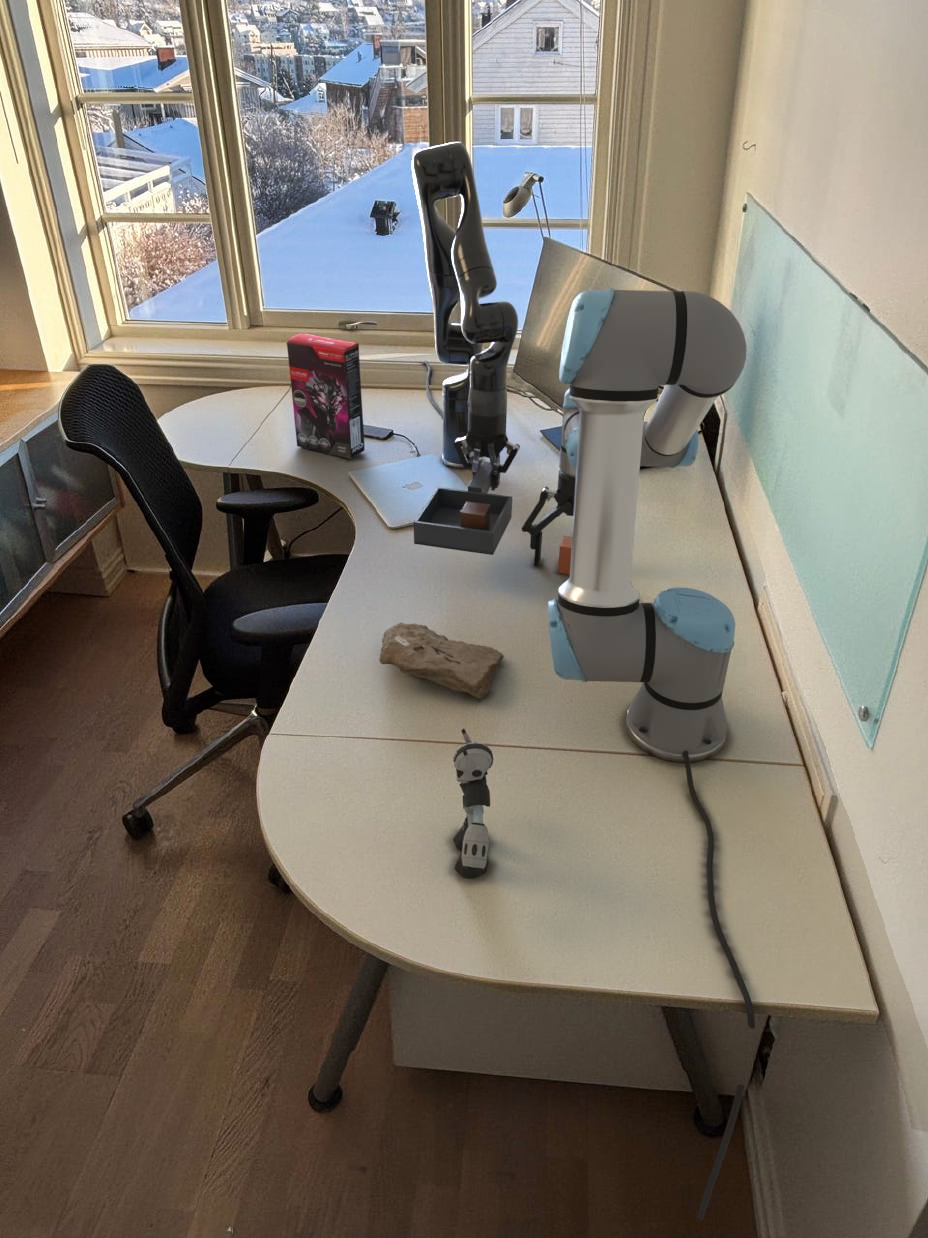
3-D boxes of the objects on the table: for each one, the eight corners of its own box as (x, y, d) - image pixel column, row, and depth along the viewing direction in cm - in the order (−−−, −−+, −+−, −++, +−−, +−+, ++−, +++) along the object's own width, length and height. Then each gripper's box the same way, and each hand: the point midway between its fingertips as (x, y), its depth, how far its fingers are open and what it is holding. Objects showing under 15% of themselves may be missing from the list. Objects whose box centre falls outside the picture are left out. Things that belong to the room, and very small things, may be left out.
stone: (355, 671, 149) (362, 639, 147) (387, 639, 163) (394, 609, 160) (477, 715, 146) (486, 682, 144) (499, 678, 159) (507, 648, 157)
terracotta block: (580, 575, 181) (582, 549, 178) (557, 572, 182) (559, 546, 179) (583, 564, 185) (586, 538, 182) (561, 561, 186) (563, 535, 183)
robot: (495, 914, 114) (500, 797, 103) (456, 915, 114) (456, 798, 103) (484, 799, 130) (487, 688, 119) (450, 801, 130) (450, 689, 119)
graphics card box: (294, 447, 232) (283, 339, 217) (310, 437, 237) (301, 331, 222) (351, 461, 225) (344, 350, 210) (367, 450, 230) (361, 342, 215)
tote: (493, 555, 169) (493, 528, 166) (413, 543, 172) (413, 517, 169) (524, 491, 190) (525, 466, 187) (453, 482, 194) (453, 457, 190)
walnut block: (483, 544, 171) (484, 515, 167) (460, 540, 172) (460, 512, 168) (489, 532, 174) (490, 504, 171) (466, 529, 175) (466, 501, 172)
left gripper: (526, 404, 181) (522, 484, 191) (458, 397, 184) (457, 476, 194) (518, 418, 175) (514, 500, 185) (447, 410, 178) (448, 491, 188)
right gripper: (648, 469, 172) (635, 567, 184) (518, 454, 177) (513, 549, 189) (644, 486, 166) (631, 586, 178) (509, 470, 171) (505, 567, 183)
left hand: (485, 487), depth 189 cm, fingers closed on tote, 2 cm apart
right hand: (570, 567), depth 184 cm, fingers open, 13 cm apart
